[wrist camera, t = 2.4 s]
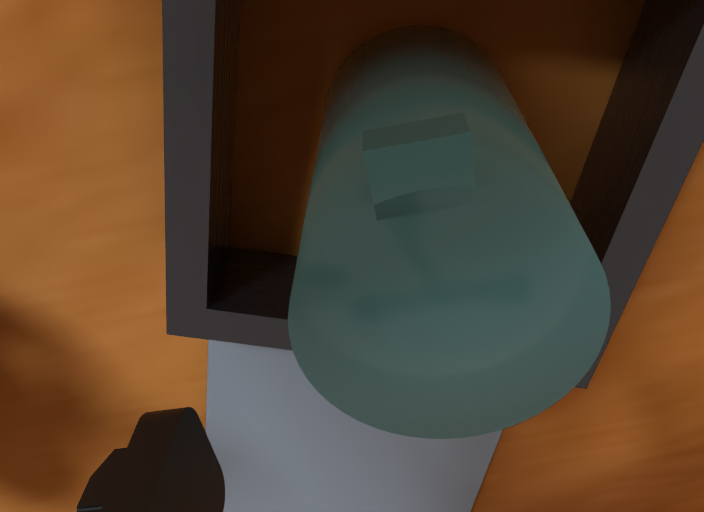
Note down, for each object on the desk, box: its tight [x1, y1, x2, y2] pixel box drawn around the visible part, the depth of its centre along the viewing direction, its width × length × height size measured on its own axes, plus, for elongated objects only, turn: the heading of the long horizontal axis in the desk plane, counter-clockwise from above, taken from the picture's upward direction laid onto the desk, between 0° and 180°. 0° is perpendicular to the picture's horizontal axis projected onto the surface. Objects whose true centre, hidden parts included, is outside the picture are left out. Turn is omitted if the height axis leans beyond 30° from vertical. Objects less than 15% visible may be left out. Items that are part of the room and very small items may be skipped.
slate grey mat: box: [206, 340, 503, 512], centre depth 27 cm, size 12×12×1 cm
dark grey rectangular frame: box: [162, 0, 704, 389], centre depth 18 cm, size 13×13×4 cm
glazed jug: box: [288, 26, 611, 439], centre depth 16 cm, size 9×6×10 cm, turn 12°
